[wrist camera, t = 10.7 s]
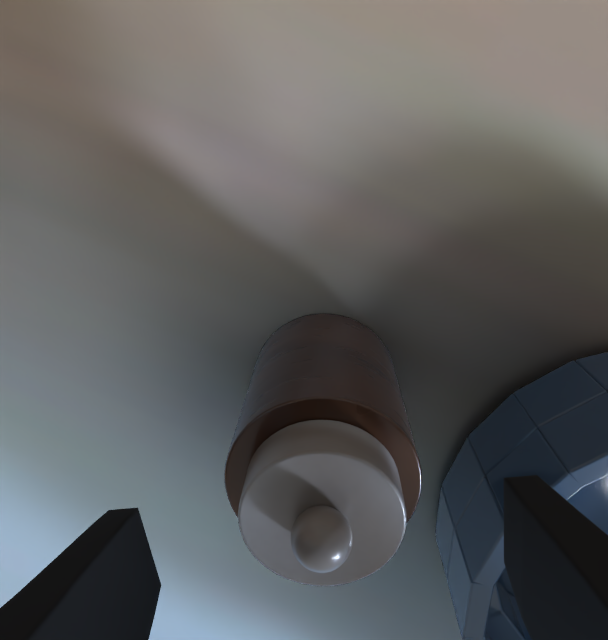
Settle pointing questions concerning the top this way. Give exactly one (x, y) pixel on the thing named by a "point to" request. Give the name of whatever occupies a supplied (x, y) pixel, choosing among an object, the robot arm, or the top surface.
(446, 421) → the top surface
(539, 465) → the bowl
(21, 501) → the top surface
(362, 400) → the pepper mill
